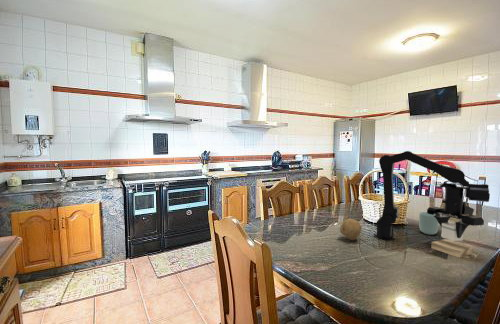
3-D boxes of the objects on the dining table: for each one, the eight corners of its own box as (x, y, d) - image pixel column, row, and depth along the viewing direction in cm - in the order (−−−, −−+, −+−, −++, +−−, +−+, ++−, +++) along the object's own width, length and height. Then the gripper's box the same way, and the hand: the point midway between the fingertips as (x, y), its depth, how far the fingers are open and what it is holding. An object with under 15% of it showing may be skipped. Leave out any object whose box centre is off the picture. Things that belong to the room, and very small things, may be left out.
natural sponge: (339, 241, 110) (340, 220, 110) (340, 235, 118) (340, 215, 118) (361, 244, 107) (361, 222, 106) (360, 237, 115) (360, 217, 115)
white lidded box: (453, 241, 98) (454, 226, 97) (441, 236, 102) (441, 223, 102) (463, 240, 99) (464, 225, 98) (450, 235, 104) (451, 222, 103)
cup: (441, 236, 117) (442, 216, 116) (423, 235, 118) (424, 215, 118) (432, 231, 125) (433, 212, 124) (415, 230, 126) (416, 211, 126)
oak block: (459, 258, 94) (459, 251, 94) (431, 249, 103) (431, 242, 103) (473, 254, 98) (473, 247, 98) (445, 245, 107) (445, 238, 107)
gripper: (495, 202, 92) (493, 242, 93) (446, 194, 111) (444, 227, 111) (473, 204, 90) (471, 244, 91) (426, 194, 108) (425, 229, 109)
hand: (452, 235), depth 101 cm, fingers closed on white lidded box, 5 cm apart
